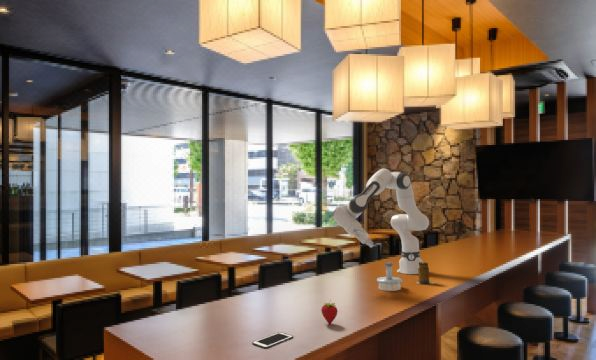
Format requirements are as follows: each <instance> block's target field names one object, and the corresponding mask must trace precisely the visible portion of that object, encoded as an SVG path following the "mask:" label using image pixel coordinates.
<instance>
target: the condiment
mask: <svg viewBox="0 0 596 360" xmlns="http://www.w3.org/2000/svg"><path fill="white" fill-rule="evenodd" d="M417 275H418V282H417V281H416V284H420V285H426V286H427V285H429V286H430V285H434V284H435V282H432V281H430V268H429V263H428V262H426V261H423V262H419V267H418V274H417Z"/></svg>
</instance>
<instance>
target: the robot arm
mask: <svg viewBox="0 0 596 360" xmlns="http://www.w3.org/2000/svg"><path fill="white" fill-rule="evenodd" d="M385 189H390V190H395V192H396V193H395V194H396V200H397V205H398V208H399V209H400V210H402V211H403V212H405V213H399V214H394V215H393V216H392V217H391V218H390V226H391V228H393V230H395V231H396V232H397V234H398V235H399V238H400V240H401V241H400V242H401V253H400V254H401V258H400V259H399V261H398V265H399V268H398V269H397V270H396V273H400V274H406V275H418V267H419V262H424V261H423V259H422V258H421V251H420V241H419V238H418V237H417V236H415V235H413V234H412V233H411V231H417V232H421V231H424V230H425V231H426V230H427V229H428V228H429V226H430V220H429V217H427V215H425V214H424V213H422V211H421V210H419V208H418V206H417V204H416V199H415V193H414V189H413V186H412V182H411V177H410V175H409V174H408V173H405V172H398V171H391V170H389V169H388V168H383V167H382V168H380V169H378V171H376V172H374V173H373V174H372V176H371V177H370V178H369V179H368V180H367V182H366V184H365V188H364V189H363V190H362V192H361V193H358V194H356V195H354V196H352V198H351V199H350V201H349V202H348V203H346V204H344V205H343V204H342V205H337V206H336V208H334V210H333V212H332V213H331V214H332V215H331V217H332V219H333V220H334V221H335V222H336V223H337V224H338V225H339V226H340V227H341V228H343V229H344V231H346V233H347V234H348V235H350V237H353V236H354V237H355V238H356V239H357V240H358V241H359V242H360V243H361V244H363V245H364V244H365V245H366V246H368V247H369V248H370V249H372V248H373V246H374V241H372V239H371V238H370V234H369V233H368V232H367V231H366V230H365V229H364V228H363V227H362V226H363V225H362V224H361V223H360V222H359V221H358V220H357V218H359V216H361V214H363V212H365V211H366V209H367V208H368V206H369V202H370V200H371V199H372V198H373V196H378V195H379V194H381V193H382V192H383V191H384V190H385Z"/></svg>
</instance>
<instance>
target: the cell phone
mask: <svg viewBox="0 0 596 360" xmlns="http://www.w3.org/2000/svg"><path fill="white" fill-rule="evenodd" d="M292 339H294V335H291V334H288V333H285V332H282V331H278V332H275V333H273V334H271V335H267V336H265V337H261V338H259V339H256V340H254V341H252V342H251V345H253V346H255V347H259V348H261V349H264V350H266V349H270V348H272V347H275V346H277V345H279V344H282V343H284V342H286V341H289V340H292Z"/></svg>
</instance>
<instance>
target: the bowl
mask: <svg viewBox="0 0 596 360" xmlns="http://www.w3.org/2000/svg"><path fill="white" fill-rule="evenodd" d="M401 283H402V282H401ZM401 283H396V284H385V283H379V282H378V289H379V290H381V291H385V292H389V291H390V292H395V291H400V290H402V288H401V285H402V284H401Z"/></svg>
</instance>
